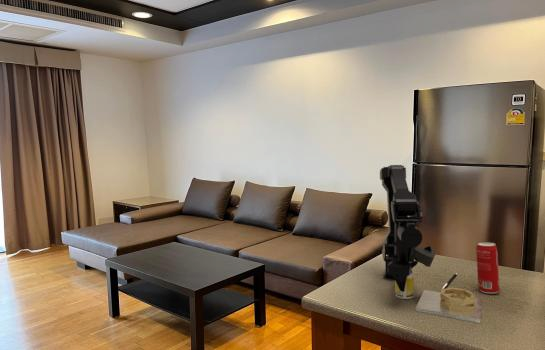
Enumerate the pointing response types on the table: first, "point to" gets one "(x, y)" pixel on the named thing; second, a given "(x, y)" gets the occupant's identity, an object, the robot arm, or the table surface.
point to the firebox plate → (451, 304)
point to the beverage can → (487, 267)
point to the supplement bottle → (406, 288)
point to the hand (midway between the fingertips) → (404, 288)
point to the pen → (449, 281)
